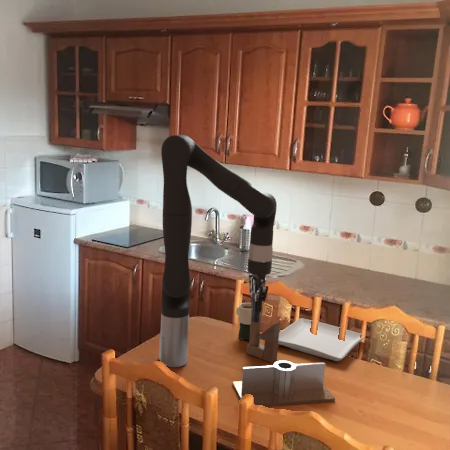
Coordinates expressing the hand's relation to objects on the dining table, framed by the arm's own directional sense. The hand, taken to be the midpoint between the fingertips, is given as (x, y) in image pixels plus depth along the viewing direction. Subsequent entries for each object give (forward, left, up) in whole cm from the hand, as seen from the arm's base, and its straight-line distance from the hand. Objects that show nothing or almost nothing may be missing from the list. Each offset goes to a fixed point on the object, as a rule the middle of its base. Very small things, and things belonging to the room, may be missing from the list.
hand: (256, 310), depth 168 cm
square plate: (+32, +20, -23) cm, 44 cm away
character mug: (+6, +28, -22) cm, 36 cm away
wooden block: (+7, +12, -22) cm, 26 cm away
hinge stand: (+6, -13, -22) cm, 26 cm away
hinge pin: (0, 0, -4) cm, 4 cm away
